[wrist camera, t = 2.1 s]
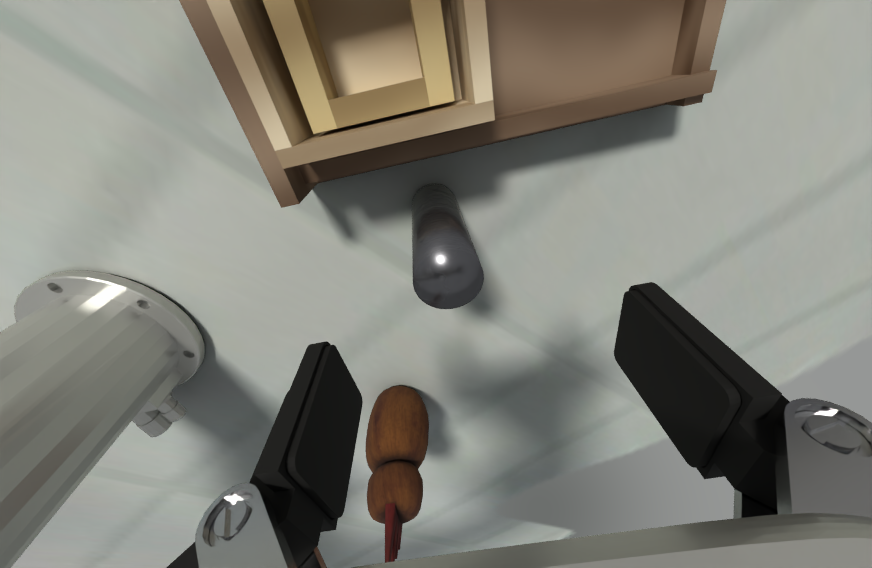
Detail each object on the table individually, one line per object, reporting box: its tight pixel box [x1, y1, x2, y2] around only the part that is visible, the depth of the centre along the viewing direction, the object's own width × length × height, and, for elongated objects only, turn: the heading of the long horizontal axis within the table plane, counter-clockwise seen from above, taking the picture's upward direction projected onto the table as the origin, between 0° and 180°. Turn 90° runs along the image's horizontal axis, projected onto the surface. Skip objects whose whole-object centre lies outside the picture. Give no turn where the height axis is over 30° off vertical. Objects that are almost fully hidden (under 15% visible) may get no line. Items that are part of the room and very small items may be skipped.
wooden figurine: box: [366, 385, 429, 563], centre depth 27 cm, size 7×6×15 cm
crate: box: [206, 0, 495, 169], centre depth 14 cm, size 9×10×5 cm
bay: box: [179, 0, 726, 208], centre depth 15 cm, size 13×24×5 cm, turn 101°
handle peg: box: [412, 184, 484, 309], centre depth 18 cm, size 3×3×10 cm
